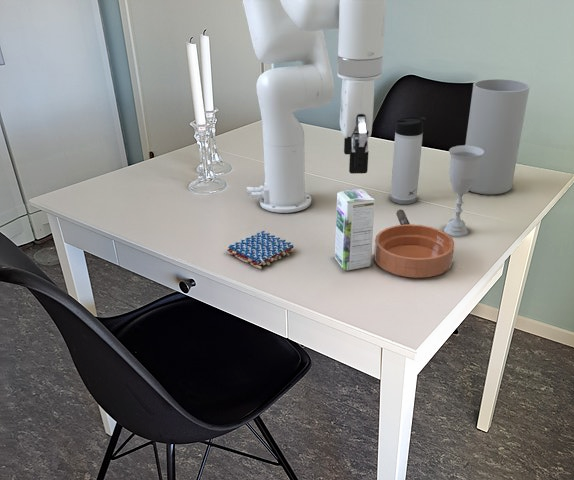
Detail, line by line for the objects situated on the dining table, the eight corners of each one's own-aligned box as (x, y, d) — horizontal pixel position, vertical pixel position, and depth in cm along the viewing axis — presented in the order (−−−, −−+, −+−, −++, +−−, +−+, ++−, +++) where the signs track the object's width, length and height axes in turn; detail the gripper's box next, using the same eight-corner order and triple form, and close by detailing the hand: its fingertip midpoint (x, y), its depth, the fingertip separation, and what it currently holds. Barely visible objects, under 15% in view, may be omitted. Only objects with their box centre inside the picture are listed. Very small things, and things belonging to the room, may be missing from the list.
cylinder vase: (489, 199, 146) (507, 94, 134) (449, 185, 155) (462, 84, 142) (521, 187, 153) (541, 85, 140) (481, 173, 161) (496, 76, 148)
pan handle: (411, 232, 126) (411, 225, 125) (402, 233, 126) (403, 225, 125) (403, 215, 134) (404, 207, 133) (395, 215, 134) (395, 208, 133)
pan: (380, 281, 115) (381, 260, 112) (369, 244, 128) (370, 225, 125) (460, 279, 115) (463, 258, 113) (441, 242, 128) (443, 223, 126)
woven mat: (224, 254, 126) (223, 245, 125) (262, 237, 132) (262, 229, 131) (258, 271, 119) (257, 262, 118) (296, 252, 125) (296, 243, 124)
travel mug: (417, 205, 145) (425, 122, 134) (389, 203, 146) (395, 121, 135) (418, 195, 150) (425, 114, 140) (391, 194, 151) (396, 113, 141)
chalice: (449, 221, 137) (459, 143, 127) (477, 229, 133) (489, 149, 124) (433, 232, 132) (442, 152, 123) (462, 241, 128) (474, 159, 119)
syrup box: (333, 258, 123) (335, 191, 115) (360, 254, 124) (363, 187, 117) (344, 271, 118) (346, 202, 111) (372, 266, 120) (376, 198, 112)
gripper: (333, 56, 110) (331, 147, 119) (342, 79, 96) (338, 181, 105) (374, 55, 110) (369, 146, 119) (389, 78, 96) (382, 180, 105)
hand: (355, 162), depth 112 cm, fingers open, 9 cm apart
